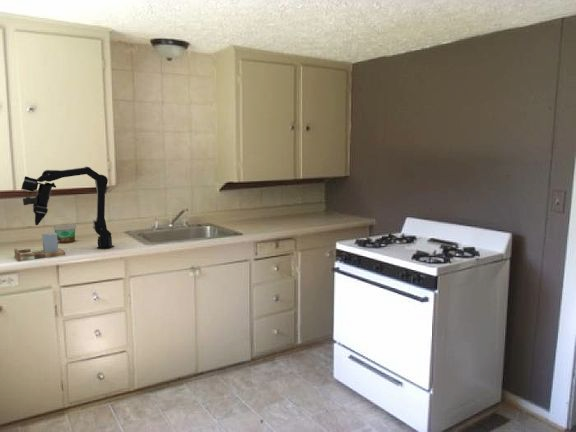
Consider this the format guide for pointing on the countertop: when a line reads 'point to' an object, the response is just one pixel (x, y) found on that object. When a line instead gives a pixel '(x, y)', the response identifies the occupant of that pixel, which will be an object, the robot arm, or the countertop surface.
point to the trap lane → (35, 254)
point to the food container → (65, 233)
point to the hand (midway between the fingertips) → (36, 223)
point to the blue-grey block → (50, 242)
